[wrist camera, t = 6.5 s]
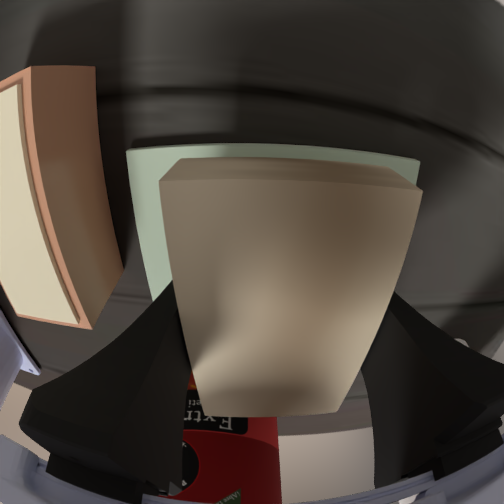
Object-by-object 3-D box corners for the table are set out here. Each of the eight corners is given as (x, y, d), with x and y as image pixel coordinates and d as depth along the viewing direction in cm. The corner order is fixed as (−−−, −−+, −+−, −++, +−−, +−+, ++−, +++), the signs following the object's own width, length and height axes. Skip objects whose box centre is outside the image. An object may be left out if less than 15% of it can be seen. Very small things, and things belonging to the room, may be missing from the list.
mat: (166, 337, 15) (164, 343, 14) (130, 148, 9) (126, 150, 9) (363, 336, 15) (365, 341, 14) (415, 159, 10) (420, 161, 9)
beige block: (208, 379, 12) (204, 415, 11) (180, 158, 7) (158, 181, 5) (329, 377, 12) (336, 412, 11) (387, 166, 7) (422, 191, 6)
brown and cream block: (54, 267, 12) (15, 319, 9) (18, 94, 7) (-48, 111, 4) (124, 270, 12) (90, 333, 9) (95, 66, 7) (26, 66, 4)
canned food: (243, 343, 15) (241, 551, 5) (291, 402, 19) (302, 541, 9) (138, 368, 16) (103, 523, 7) (202, 419, 20) (193, 539, 11)
